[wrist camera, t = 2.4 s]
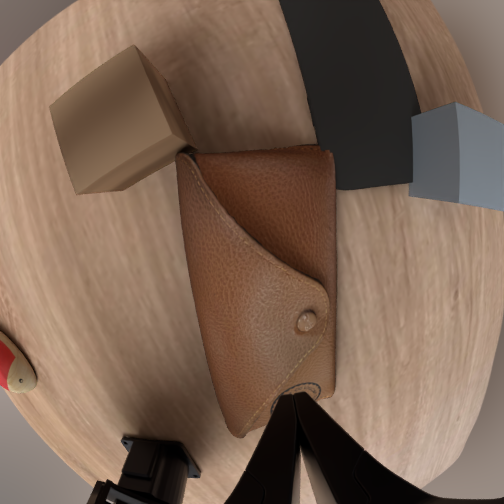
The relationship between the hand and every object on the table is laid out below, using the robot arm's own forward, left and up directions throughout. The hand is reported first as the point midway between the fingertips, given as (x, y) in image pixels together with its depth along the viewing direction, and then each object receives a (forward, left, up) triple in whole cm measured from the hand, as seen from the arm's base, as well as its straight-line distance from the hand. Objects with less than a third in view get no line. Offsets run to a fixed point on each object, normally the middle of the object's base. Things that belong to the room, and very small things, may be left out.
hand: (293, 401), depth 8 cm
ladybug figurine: (-4, +28, -9) cm, 29 cm away
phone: (+13, -7, -9) cm, 18 cm away
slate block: (+7, -12, -9) cm, 16 cm away
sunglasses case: (0, 0, -9) cm, 9 cm away
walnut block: (+11, +6, -9) cm, 15 cm away
